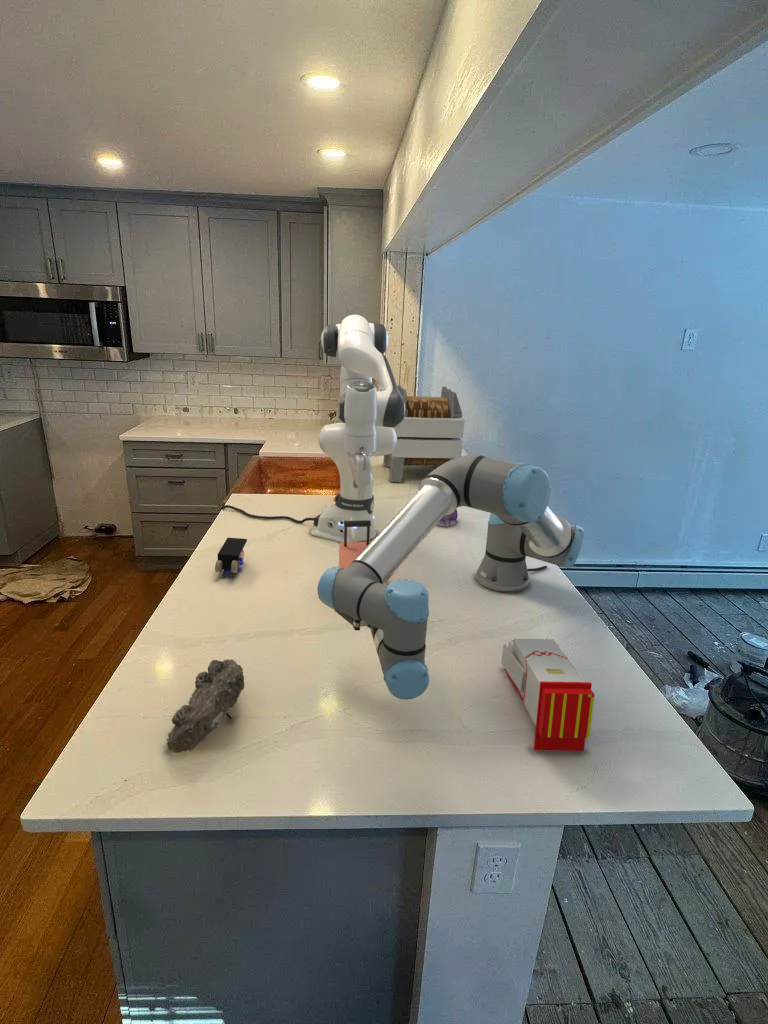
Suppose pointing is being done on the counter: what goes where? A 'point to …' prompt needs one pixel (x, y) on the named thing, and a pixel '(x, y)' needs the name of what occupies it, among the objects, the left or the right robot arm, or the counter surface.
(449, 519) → the figurine
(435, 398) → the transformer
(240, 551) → the figurine character
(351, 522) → the lid
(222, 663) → the fossil
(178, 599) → the counter surface
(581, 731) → the toy
